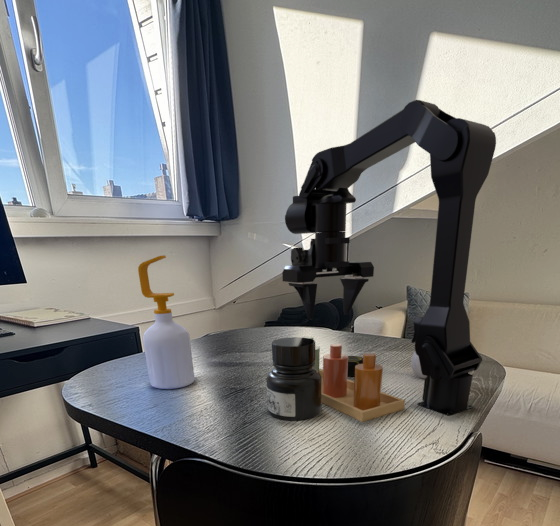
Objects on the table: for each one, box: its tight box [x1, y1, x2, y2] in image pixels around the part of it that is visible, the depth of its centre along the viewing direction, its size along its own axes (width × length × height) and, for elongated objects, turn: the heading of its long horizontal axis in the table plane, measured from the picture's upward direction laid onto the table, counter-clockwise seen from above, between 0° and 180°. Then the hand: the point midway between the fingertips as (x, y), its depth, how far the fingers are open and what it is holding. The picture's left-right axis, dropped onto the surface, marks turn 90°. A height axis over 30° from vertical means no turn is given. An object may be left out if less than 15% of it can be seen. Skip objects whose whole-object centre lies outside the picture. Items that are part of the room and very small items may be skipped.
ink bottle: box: [266, 336, 322, 422], centre depth 66 cm, size 10×9×12 cm
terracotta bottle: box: [322, 343, 349, 398], centre depth 73 cm, size 4×4×9 cm
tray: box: [319, 368, 406, 423], centre depth 75 cm, size 25×9×2 cm, turn 32°
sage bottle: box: [302, 335, 321, 372], centre depth 80 cm, size 4×4×9 cm
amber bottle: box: [353, 352, 384, 411], centre depth 67 cm, size 4×4×9 cm
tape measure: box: [347, 355, 363, 377], centre depth 87 cm, size 7×7×4 cm
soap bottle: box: [137, 254, 195, 390], centre depth 81 cm, size 9×9×25 cm
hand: (328, 316), depth 84 cm, fingers open, 9 cm apart
